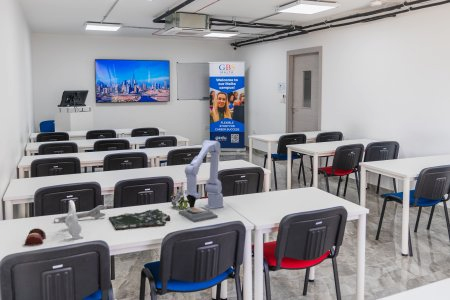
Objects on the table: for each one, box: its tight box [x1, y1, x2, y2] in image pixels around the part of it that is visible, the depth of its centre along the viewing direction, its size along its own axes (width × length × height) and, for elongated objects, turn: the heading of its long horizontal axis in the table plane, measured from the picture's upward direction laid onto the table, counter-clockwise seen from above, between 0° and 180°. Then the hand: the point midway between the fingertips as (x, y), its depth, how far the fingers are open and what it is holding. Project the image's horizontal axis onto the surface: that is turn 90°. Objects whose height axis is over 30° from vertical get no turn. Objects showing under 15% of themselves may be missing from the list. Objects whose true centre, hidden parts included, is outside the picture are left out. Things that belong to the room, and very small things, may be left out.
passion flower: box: [170, 190, 189, 211], centre depth 267 cm, size 13×12×14 cm
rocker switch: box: [187, 206, 208, 213], centre depth 251 cm, size 10×7×2 cm
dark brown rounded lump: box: [24, 227, 47, 246], centre depth 208 cm, size 8×6×12 cm
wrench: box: [53, 204, 107, 224], centre depth 241 cm, size 8×2×30 cm
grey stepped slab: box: [178, 206, 219, 223], centre depth 251 cm, size 16×20×4 cm
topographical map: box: [108, 208, 171, 231], centre depth 240 cm, size 26×33×3 cm
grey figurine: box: [64, 199, 84, 240], centre depth 218 cm, size 20×7×18 cm, turn 26°
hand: (191, 207), depth 248 cm, fingers closed
